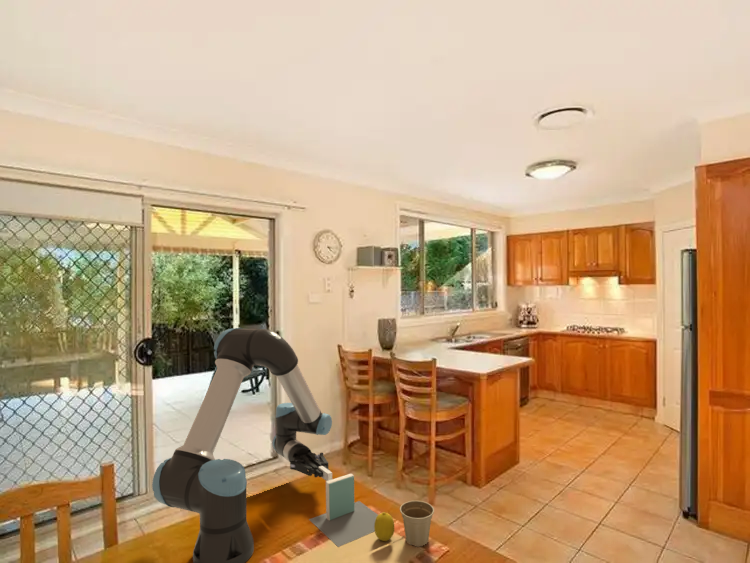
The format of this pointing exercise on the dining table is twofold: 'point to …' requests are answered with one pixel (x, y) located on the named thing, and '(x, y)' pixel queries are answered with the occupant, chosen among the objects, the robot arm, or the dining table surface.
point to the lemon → (384, 526)
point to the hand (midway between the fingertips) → (330, 477)
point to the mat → (347, 525)
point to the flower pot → (417, 521)
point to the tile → (339, 496)
